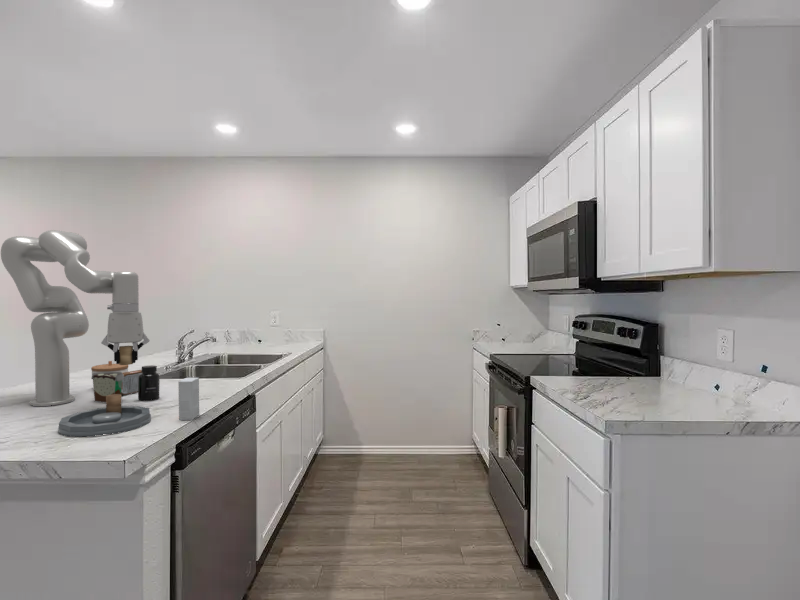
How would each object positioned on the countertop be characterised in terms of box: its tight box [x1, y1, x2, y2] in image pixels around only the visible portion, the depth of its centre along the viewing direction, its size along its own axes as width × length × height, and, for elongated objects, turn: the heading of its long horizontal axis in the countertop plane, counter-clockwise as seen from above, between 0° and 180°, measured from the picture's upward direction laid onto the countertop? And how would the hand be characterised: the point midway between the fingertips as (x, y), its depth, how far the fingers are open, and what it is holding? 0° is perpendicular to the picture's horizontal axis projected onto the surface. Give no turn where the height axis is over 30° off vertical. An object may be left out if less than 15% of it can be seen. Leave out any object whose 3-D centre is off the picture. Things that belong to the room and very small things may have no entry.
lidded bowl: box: [90, 360, 129, 374], centre depth 183 cm, size 13×13×11 cm
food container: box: [91, 372, 124, 403], centre depth 162 cm, size 12×6×10 cm, turn 71°
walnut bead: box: [105, 394, 122, 413], centre depth 139 cm, size 4×4×6 cm
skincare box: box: [178, 377, 200, 421], centre depth 141 cm, size 6×4×12 cm
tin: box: [121, 369, 142, 396], centre depth 175 cm, size 15×3×8 cm, turn 159°
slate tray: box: [57, 405, 152, 438], centre depth 133 cm, size 23×23×3 cm
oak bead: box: [118, 345, 134, 366], centre depth 152 cm, size 4×4×6 cm
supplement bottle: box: [137, 364, 161, 402], centre depth 165 cm, size 7×7×12 cm
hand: (126, 362), depth 152 cm, fingers closed on oak bead, 4 cm apart
